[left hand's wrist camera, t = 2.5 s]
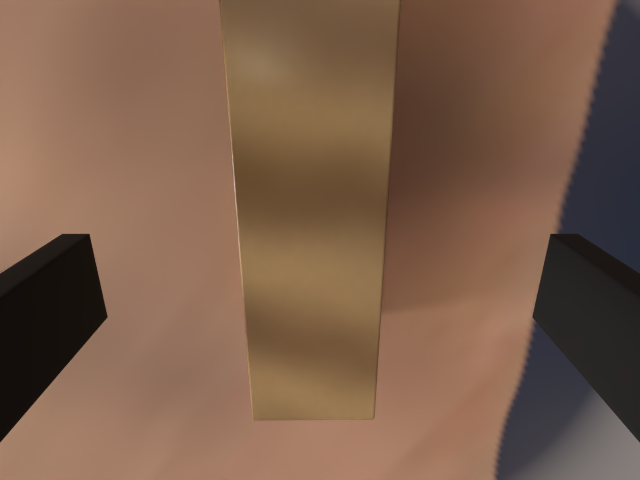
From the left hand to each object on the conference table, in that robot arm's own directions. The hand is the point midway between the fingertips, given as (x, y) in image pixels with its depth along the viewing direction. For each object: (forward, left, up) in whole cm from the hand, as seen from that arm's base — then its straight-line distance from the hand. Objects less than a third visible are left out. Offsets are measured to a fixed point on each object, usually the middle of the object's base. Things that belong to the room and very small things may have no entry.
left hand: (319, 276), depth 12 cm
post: (-17, +19, -10) cm, 27 cm away
